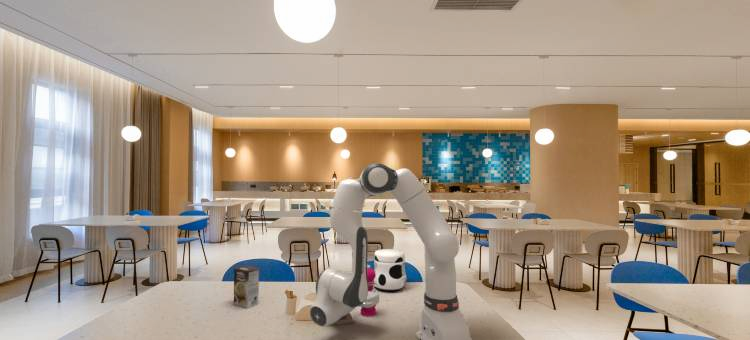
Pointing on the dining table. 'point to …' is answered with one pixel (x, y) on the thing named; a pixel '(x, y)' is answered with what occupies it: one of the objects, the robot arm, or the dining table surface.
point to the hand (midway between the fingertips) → (363, 289)
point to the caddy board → (344, 320)
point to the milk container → (389, 269)
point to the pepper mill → (370, 279)
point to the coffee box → (246, 286)
